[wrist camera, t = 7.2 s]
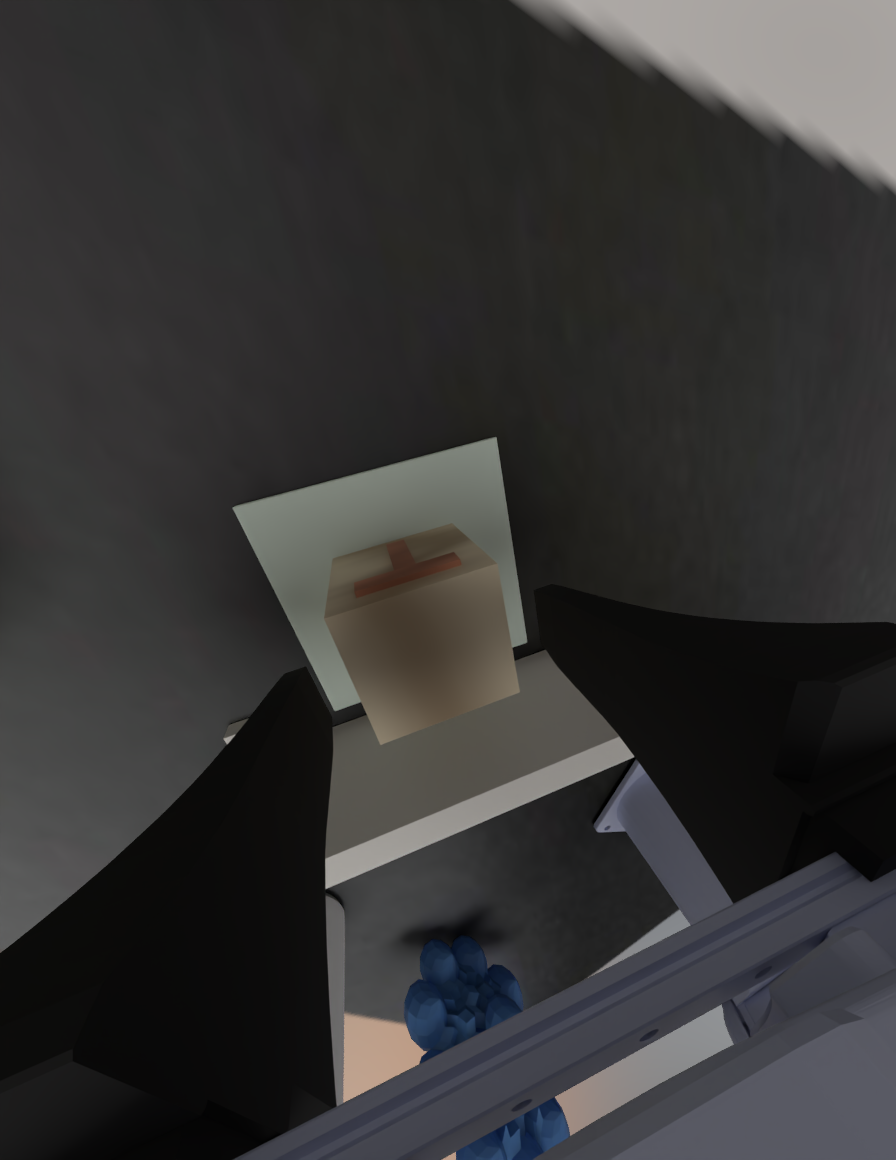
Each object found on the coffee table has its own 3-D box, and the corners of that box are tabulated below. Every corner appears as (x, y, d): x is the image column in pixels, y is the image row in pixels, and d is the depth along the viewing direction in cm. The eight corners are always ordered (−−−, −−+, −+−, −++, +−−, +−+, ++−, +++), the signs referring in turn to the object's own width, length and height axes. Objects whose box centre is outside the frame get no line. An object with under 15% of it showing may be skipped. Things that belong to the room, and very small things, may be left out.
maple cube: (450, 518, 14) (496, 557, 10) (474, 622, 17) (519, 692, 12) (330, 553, 14) (320, 612, 9) (372, 657, 16) (380, 745, 11)
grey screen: (606, 592, 18) (711, 658, 13) (609, 678, 21) (697, 761, 16) (217, 728, 16) (148, 881, 10) (275, 807, 18) (243, 962, 13)
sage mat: (492, 437, 14) (496, 437, 14) (523, 638, 18) (527, 642, 18) (235, 505, 13) (232, 507, 12) (335, 705, 17) (334, 711, 16)
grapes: (540, 906, 30) (647, 1170, 19) (495, 954, 31) (571, 1226, 20) (430, 897, 25) (489, 1241, 14) (382, 955, 26) (404, 1310, 16)
